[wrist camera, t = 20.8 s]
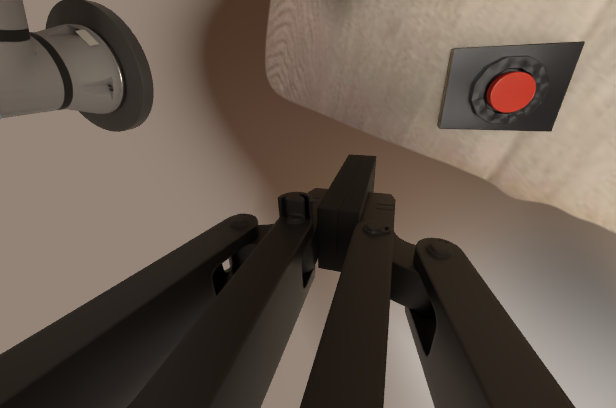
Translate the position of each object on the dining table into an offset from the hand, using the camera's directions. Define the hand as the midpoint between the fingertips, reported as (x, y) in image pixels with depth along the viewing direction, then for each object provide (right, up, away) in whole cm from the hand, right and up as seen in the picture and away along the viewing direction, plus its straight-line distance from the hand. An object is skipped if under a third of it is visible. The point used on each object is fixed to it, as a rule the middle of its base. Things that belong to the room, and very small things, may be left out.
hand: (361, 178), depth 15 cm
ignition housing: (+20, +13, +17) cm, 30 cm away
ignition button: (+19, +11, +14) cm, 26 cm away
